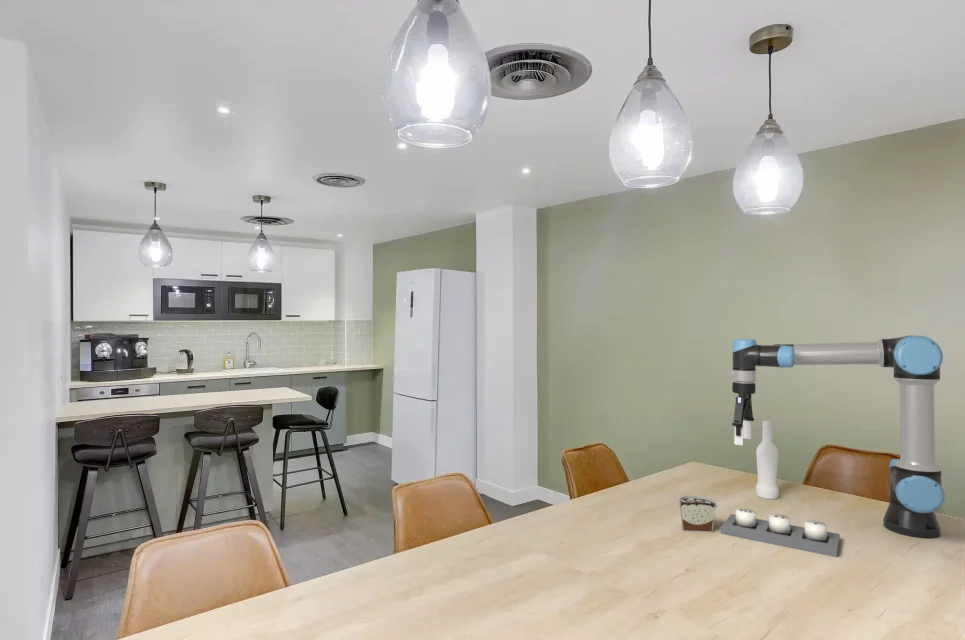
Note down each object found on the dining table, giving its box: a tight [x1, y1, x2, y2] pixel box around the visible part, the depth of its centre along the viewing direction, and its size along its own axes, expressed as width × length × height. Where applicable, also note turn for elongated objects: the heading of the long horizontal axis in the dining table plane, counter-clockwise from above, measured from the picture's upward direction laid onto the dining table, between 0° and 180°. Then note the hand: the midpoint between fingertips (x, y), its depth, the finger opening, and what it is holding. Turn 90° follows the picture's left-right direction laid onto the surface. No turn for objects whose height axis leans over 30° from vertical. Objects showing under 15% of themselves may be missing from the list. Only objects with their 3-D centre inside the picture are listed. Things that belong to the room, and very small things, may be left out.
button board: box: [720, 513, 841, 558], centre depth 182 cm, size 32×16×2 cm, turn 55°
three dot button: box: [735, 507, 757, 528], centre depth 188 cm, size 6×6×4 cm
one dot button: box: [803, 520, 828, 541], centre depth 176 cm, size 6×6×4 cm
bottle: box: [755, 420, 780, 501], centre depth 225 cm, size 8×8×30 cm
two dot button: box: [768, 513, 791, 534], centre depth 182 cm, size 6×6×4 cm
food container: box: [677, 495, 718, 533], centre depth 189 cm, size 12×6×10 cm, turn 84°
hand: (743, 441), depth 203 cm, fingers open, 13 cm apart
